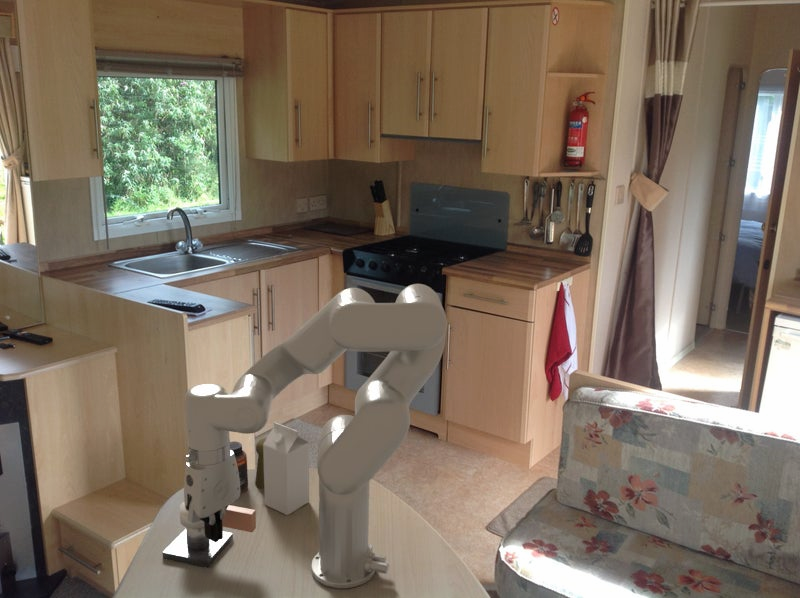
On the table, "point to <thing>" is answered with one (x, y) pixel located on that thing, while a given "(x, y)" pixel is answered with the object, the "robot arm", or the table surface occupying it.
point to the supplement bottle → (240, 464)
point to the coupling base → (198, 554)
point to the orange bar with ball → (226, 518)
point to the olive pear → (260, 464)
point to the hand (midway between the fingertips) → (214, 537)
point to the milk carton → (286, 470)
